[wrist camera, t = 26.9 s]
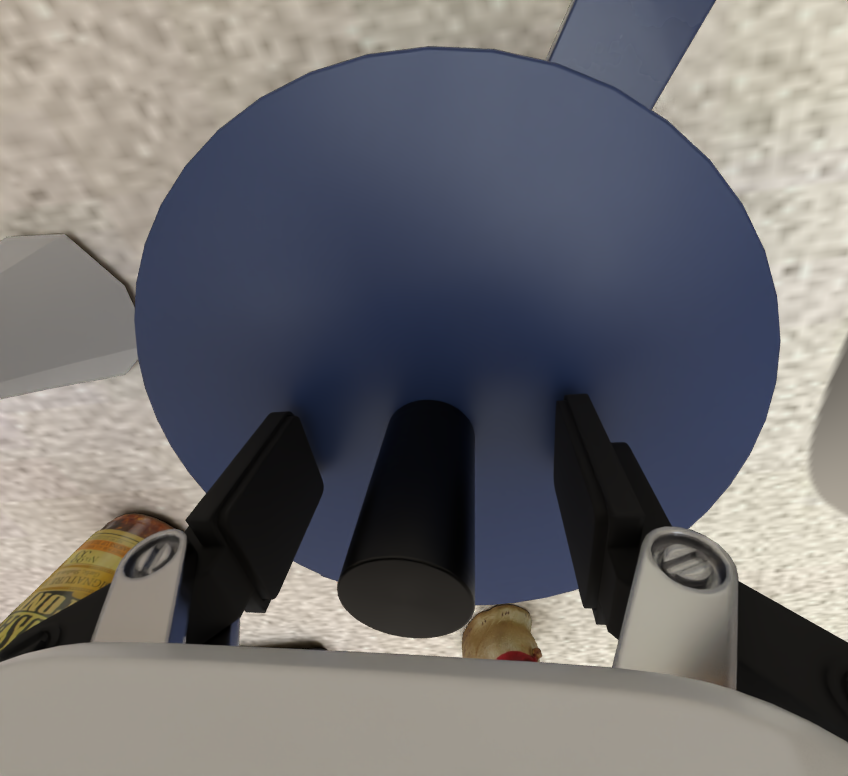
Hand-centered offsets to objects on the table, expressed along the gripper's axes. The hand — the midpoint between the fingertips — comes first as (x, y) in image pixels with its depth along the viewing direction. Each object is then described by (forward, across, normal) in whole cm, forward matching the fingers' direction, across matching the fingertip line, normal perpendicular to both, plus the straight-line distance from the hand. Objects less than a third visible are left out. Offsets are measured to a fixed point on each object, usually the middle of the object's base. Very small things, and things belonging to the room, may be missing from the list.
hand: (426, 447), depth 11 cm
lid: (+1, 0, 0) cm, 1 cm away
